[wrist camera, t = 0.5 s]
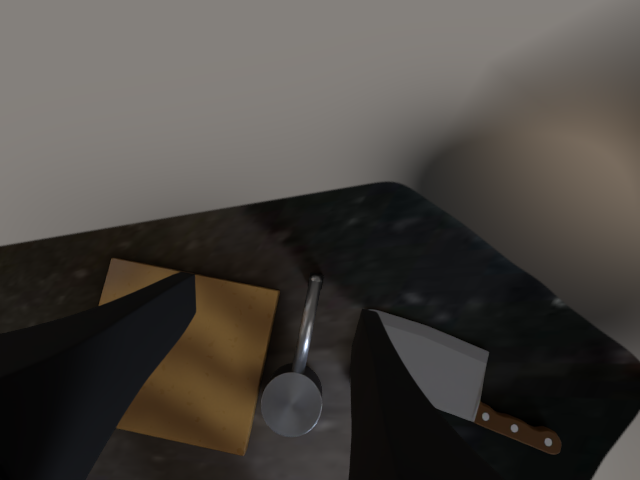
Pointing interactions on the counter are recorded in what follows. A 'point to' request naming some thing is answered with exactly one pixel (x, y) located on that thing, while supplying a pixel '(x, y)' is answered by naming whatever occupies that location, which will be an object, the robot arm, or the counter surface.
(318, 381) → the grey disc-end rod
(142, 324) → the robot arm
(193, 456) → the counter surface
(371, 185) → the counter surface
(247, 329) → the chopping board
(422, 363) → the kitchen cleaver
